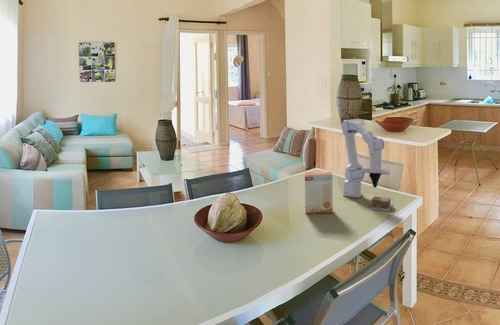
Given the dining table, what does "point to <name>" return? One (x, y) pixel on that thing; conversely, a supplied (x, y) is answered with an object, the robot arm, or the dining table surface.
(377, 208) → the mat
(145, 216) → the dining table surface
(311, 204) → the cracker box
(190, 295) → the dining table surface
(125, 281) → the dining table surface
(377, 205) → the brown wooden block
